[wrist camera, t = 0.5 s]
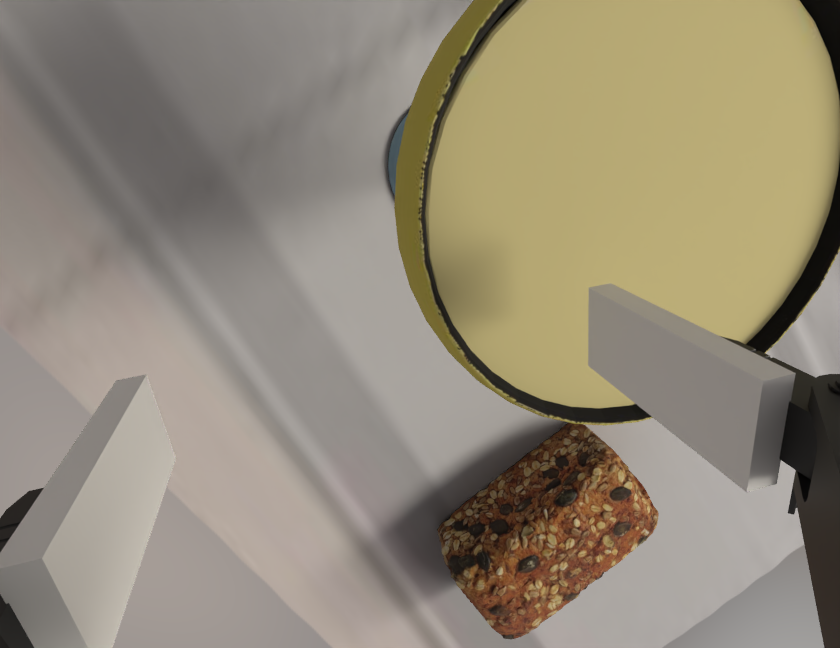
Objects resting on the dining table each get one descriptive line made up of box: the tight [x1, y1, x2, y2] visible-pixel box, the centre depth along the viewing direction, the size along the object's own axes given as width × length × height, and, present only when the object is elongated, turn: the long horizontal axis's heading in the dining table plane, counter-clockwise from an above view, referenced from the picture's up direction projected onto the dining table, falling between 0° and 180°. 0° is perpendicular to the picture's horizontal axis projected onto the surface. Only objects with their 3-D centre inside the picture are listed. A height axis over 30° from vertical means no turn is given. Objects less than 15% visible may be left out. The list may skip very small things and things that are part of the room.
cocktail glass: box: [388, 0, 840, 425], centre depth 30 cm, size 18×18×25 cm
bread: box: [438, 423, 658, 639], centre depth 50 cm, size 19×11×10 cm, turn 125°
